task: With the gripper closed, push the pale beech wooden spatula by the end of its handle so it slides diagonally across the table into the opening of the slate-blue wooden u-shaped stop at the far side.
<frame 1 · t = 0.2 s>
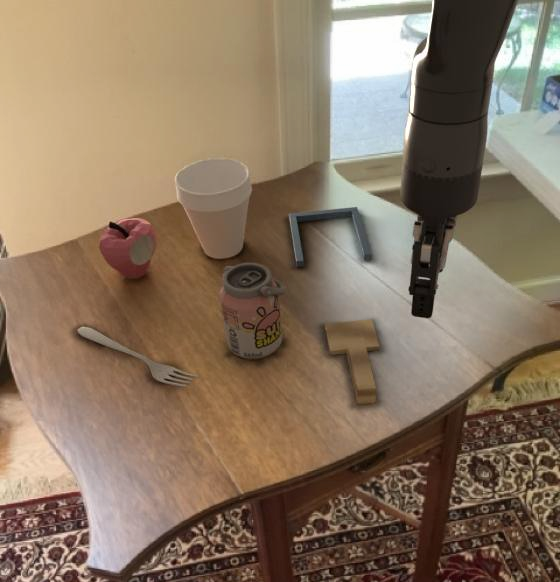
hand: (427, 291, 74), 17 cm above the table, tool pointing down, fingers open, 8 cm apart
u-shaped stop: (328, 237, 115), on the table
spatula: (356, 362, 92), on the table
apple: (136, 273, 111), on the table
cup: (223, 248, 115), on the table
beverage can: (258, 342, 96), on the table
fork: (133, 358, 96), on the table
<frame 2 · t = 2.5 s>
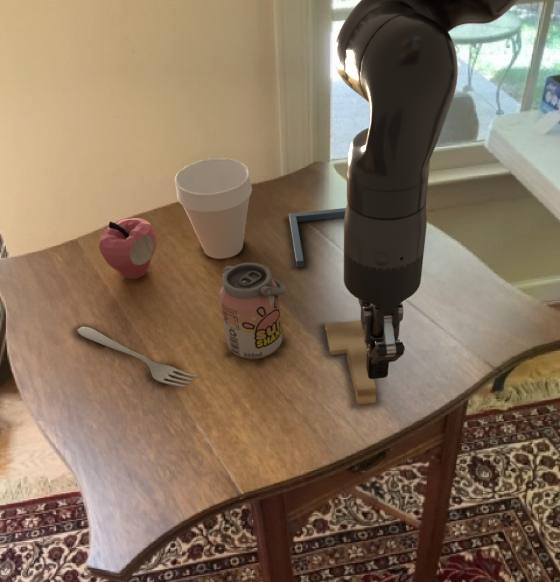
hand: (376, 373, 74), 11 cm above the table, tool pointing down, fingers closed
nothing on the table moved.
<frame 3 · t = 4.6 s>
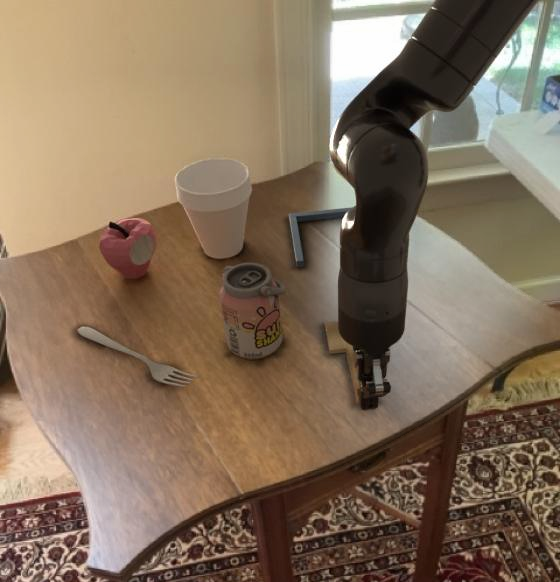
hand: (368, 405, 84), 1 cm above the table, tool pointing down, fingers closed
spatula: (356, 361, 92), on the table, touching gripper
everything else where it was.
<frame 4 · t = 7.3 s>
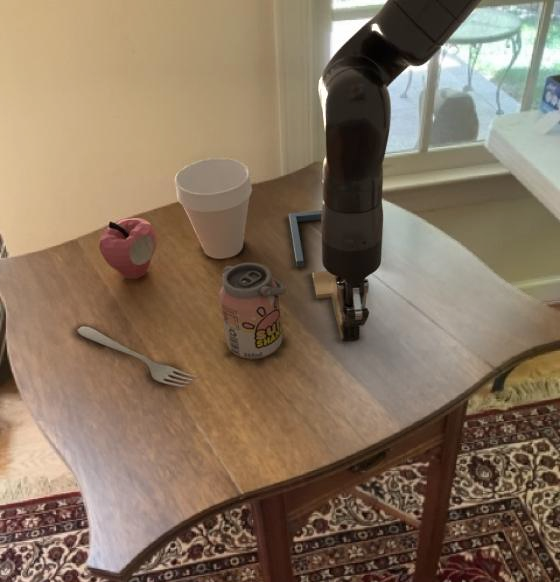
hand: (350, 337, 93), 1 cm above the table, tool pointing down, fingers closed
spatula: (340, 304, 101), on the table, touching gripper
everything else where it was.
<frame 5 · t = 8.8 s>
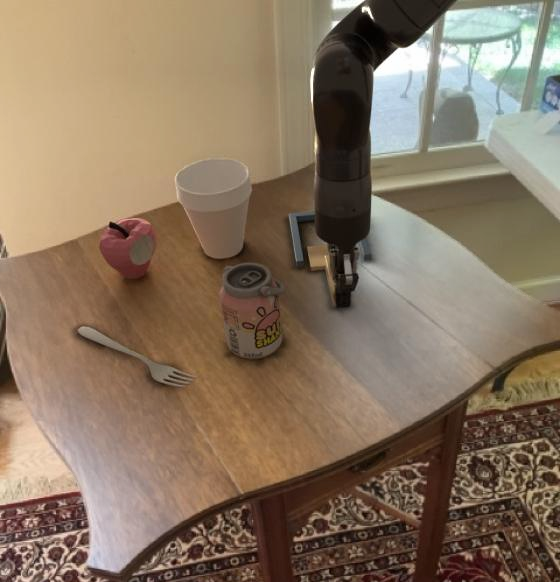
hand: (342, 304, 98), 2 cm above the table, tool pointing down, fingers closed
spatula: (334, 276, 106), on the table, touching gripper
everything else where it was.
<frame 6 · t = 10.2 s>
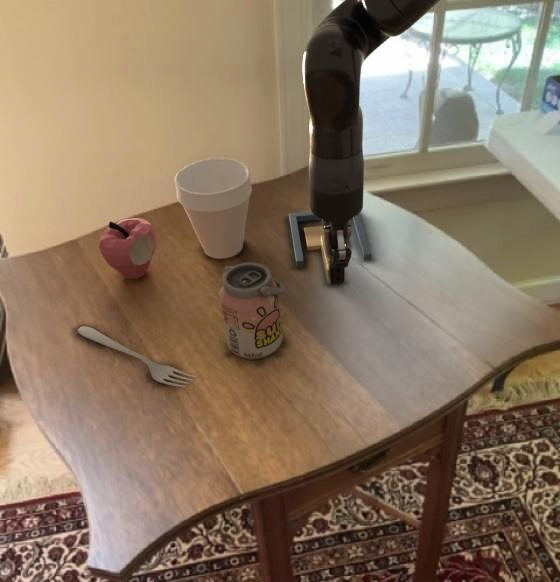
hand: (336, 281, 103), 2 cm above the table, tool pointing down, fingers closed
spatula: (329, 255, 111), on the table, touching gripper
everything else where it was.
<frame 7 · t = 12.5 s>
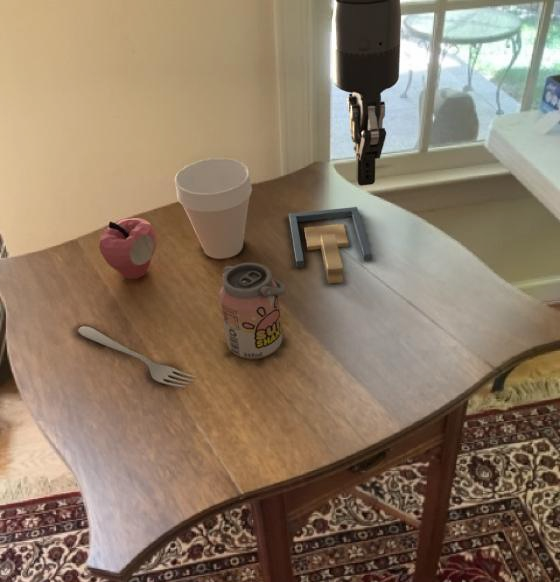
hand: (365, 182, 85), 21 cm above the table, tool pointing down, fingers closed
spatula: (329, 254, 111), on the table
everything else where it was.
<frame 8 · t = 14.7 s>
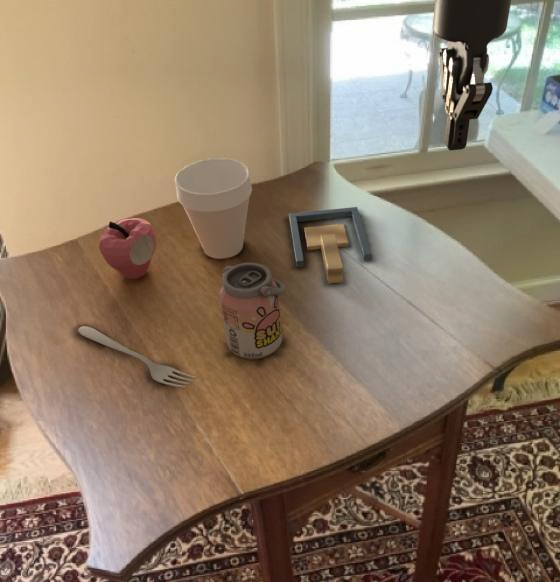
hand: (454, 146, 78), 27 cm above the table, tool pointing down, fingers closed
nothing on the table moved.
at the end: spatula inside the target area on the u-shaped stop (1.6 cm from its centre), point 0.0 cm above the u-shaped stop's base; spatula moved 26.6 cm from its start; the gripper is holding nothing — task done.
